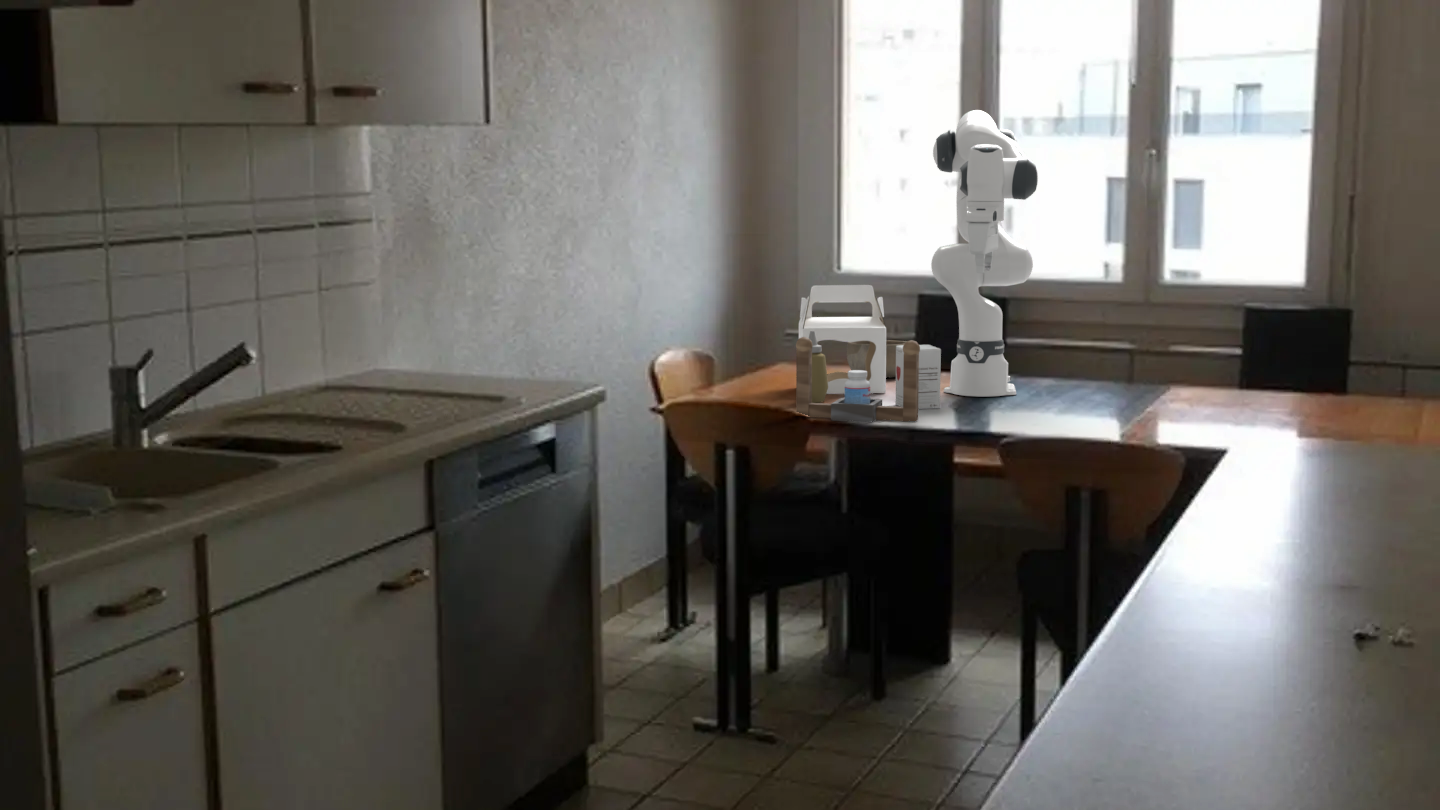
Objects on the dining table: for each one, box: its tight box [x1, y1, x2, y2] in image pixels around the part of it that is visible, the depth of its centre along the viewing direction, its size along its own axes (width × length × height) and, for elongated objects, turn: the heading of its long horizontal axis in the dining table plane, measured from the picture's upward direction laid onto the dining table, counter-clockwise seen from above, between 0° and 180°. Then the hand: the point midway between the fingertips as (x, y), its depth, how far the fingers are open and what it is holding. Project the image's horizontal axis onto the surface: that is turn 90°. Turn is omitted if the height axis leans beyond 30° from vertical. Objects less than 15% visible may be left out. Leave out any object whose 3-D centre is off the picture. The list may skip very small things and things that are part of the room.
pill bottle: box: [844, 369, 871, 404], centre depth 403 cm, size 6×6×11 cm
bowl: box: [846, 339, 907, 378], centre depth 476 cm, size 17×18×10 cm
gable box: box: [798, 284, 887, 395], centre depth 448 cm, size 22×13×28 cm, turn 92°
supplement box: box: [895, 344, 942, 410], centre depth 420 cm, size 9×9×15 cm
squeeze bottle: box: [809, 331, 828, 403], centre depth 429 cm, size 8×8×18 cm
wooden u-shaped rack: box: [795, 337, 920, 423], centre depth 403 cm, size 10×30×19 cm, turn 72°
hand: (983, 271), depth 405 cm, fingers open, 8 cm apart
